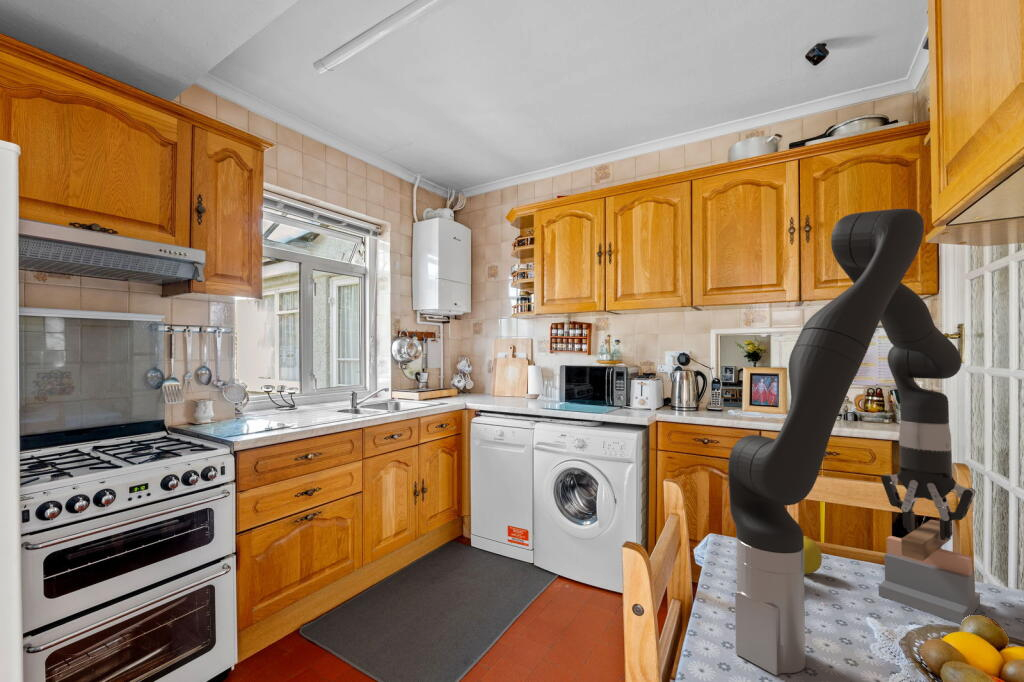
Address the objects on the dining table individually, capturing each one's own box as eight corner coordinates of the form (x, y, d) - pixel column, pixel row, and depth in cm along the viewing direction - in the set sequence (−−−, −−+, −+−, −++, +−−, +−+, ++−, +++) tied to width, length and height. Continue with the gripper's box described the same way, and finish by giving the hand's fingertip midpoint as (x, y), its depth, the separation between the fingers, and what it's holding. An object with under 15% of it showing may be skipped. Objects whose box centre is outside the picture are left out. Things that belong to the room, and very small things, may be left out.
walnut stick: (931, 534, 95) (930, 519, 95) (950, 539, 93) (950, 523, 93) (901, 555, 85) (901, 538, 85) (923, 561, 82) (922, 544, 82)
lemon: (828, 580, 96) (827, 541, 96) (801, 580, 96) (800, 541, 96) (811, 568, 101) (810, 531, 102) (785, 568, 101) (785, 531, 102)
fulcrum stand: (963, 625, 80) (961, 566, 80) (878, 595, 90) (877, 543, 90) (980, 604, 87) (978, 550, 87) (899, 579, 97) (898, 530, 97)
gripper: (981, 449, 86) (983, 543, 85) (886, 438, 97) (887, 520, 97) (971, 454, 81) (973, 552, 81) (872, 441, 93) (874, 527, 93)
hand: (926, 534), depth 89 cm, fingers open, 4 cm apart
